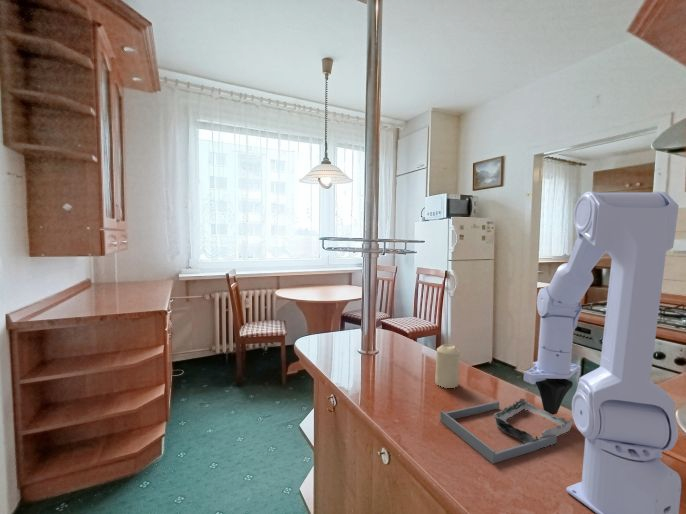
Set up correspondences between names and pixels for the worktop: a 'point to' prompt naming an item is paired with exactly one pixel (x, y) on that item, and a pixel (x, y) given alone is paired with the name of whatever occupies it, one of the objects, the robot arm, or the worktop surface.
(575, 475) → the worktop surface
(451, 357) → the candle
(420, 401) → the worktop surface
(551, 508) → the worktop surface
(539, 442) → the box
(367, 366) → the worktop surface
